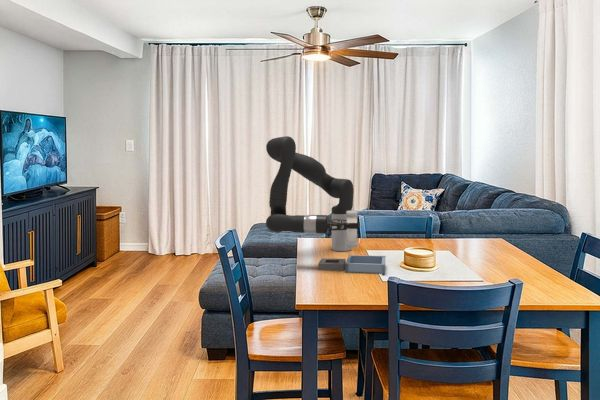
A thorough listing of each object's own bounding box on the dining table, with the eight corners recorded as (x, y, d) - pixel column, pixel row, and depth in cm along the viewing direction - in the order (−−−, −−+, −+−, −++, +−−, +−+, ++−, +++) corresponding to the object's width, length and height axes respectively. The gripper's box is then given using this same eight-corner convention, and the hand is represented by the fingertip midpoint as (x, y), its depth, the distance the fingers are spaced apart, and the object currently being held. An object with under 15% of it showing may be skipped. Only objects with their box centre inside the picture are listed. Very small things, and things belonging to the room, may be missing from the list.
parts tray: (348, 264, 237) (348, 254, 237) (385, 265, 235) (385, 255, 234) (345, 273, 222) (345, 263, 221) (384, 275, 219) (384, 264, 219)
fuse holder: (321, 265, 236) (321, 258, 236) (345, 266, 234) (345, 258, 234) (318, 271, 226) (318, 263, 226) (343, 271, 225) (343, 264, 224)
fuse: (346, 244, 231) (346, 210, 229) (357, 245, 230) (358, 210, 228) (345, 246, 226) (345, 211, 225) (356, 247, 225) (357, 212, 224)
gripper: (313, 217, 222) (357, 218, 219) (318, 212, 236) (360, 213, 233) (313, 236, 223) (357, 237, 220) (318, 230, 237) (360, 231, 234)
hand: (358, 225), depth 226 cm, fingers closed on fuse, 4 cm apart
